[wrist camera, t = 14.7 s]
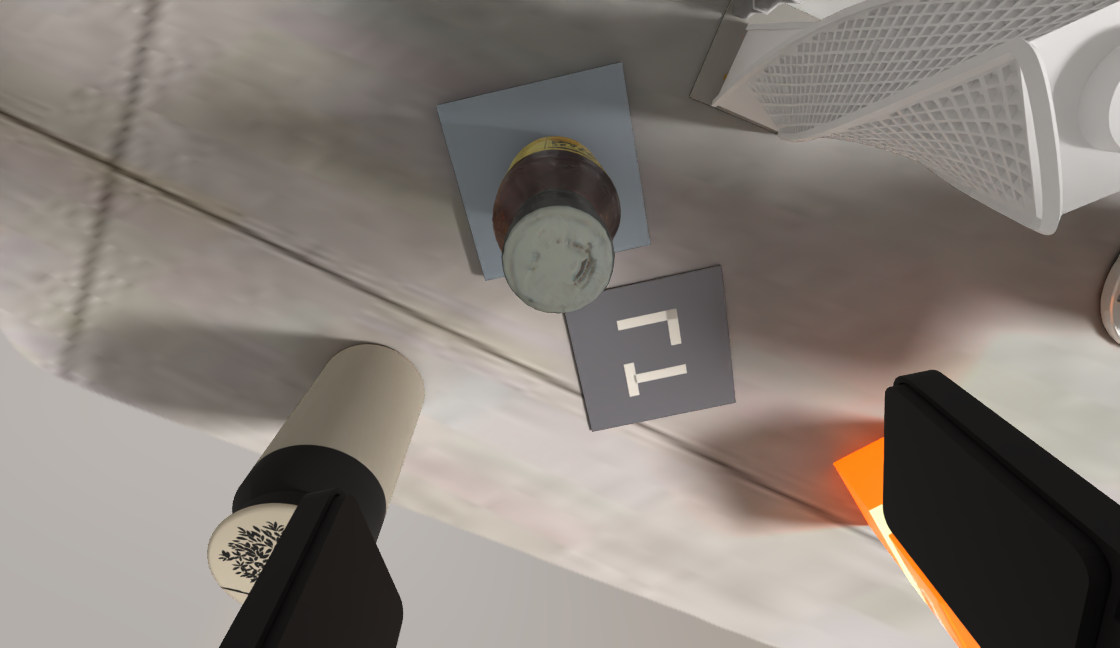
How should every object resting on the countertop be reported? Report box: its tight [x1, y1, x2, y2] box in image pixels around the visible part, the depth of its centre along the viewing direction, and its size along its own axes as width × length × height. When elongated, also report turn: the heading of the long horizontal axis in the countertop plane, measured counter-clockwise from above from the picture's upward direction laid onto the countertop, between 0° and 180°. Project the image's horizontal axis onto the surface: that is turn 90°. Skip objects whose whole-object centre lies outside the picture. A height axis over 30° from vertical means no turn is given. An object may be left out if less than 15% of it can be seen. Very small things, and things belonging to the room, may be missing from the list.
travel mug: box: [207, 344, 425, 604], centre depth 37 cm, size 8×8×18 cm
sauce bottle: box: [492, 136, 621, 313], centre depth 29 cm, size 7×6×20 cm
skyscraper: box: [689, 0, 1120, 235], centre depth 25 cm, size 8×8×28 cm
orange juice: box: [833, 437, 980, 648], centre depth 42 cm, size 8×9×20 cm
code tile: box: [565, 265, 736, 432], centre depth 45 cm, size 12×12×1 cm
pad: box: [436, 62, 650, 281], centre depth 39 cm, size 12×12×1 cm
